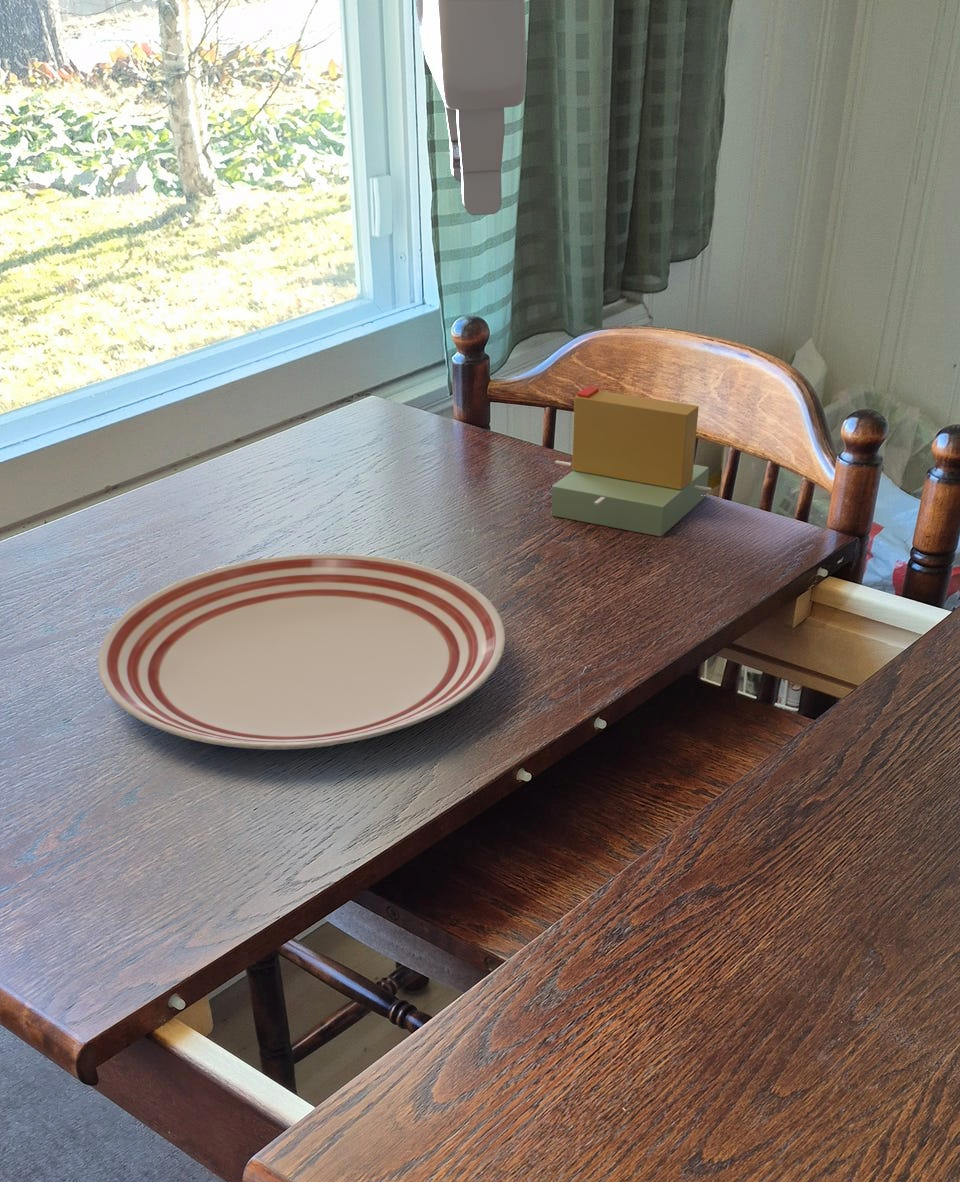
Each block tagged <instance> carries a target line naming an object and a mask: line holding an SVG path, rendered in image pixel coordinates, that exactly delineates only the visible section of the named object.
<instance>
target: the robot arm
mask: <svg viewBox="0 0 960 1182" xmlns="http://www.w3.org/2000/svg"><path fill="white" fill-rule="evenodd" d="M525 1H526V0H415V7H416V13H417V19H418V25H419V33H420V36H421V42H422V48H423V52H424V56H425V60H426V64H427V65H428V68H429V70H430V72H431V75H432V77H433V79H434V81H435V83H436V86H437V89H438V91H439V93H440V95H441V98H442V100H443V103H444V108H445V116H446V123H447V130H448V131H447V132H448V138H449V151H450V152H449V156H450V171H451V174H452V176H453V177H454V179H455V180H456V182H459V183H461V195H462V196H461V198H462V204H463V208H464V210H465V212H466V213H467V214H469V215H470V216H486V215H487V216H488V215H494V214H497V213H498V212H500V210H501V207H502V205H503V202H502V201H503V199H502V196H503V195H502V193H503V192H502V164H503V153H504V144H505V143H504V142H505V131H506V129H505V127H506V126H505V108H515V107H518V106H520V105H521V104H522V103H523V101H524V99H525V94H526V86H527V36H526V35H527V33H526V2H525Z"/></svg>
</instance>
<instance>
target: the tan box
mask: <svg viewBox="0 0 960 1182" xmlns="http://www.w3.org/2000/svg"><path fill="white" fill-rule="evenodd" d="M576 394H577V395H575V396H574V401H573V402H574V404H573V405H574V406H573V431H572V434H573V436H572V437H573V438H572V462H571V470H572V471H578V472H584V473H590V474H595V475H601V476H606V477H612V478H618V479H623V480H629V481H634V482H640V483H645V484H651V485H657V486H662V487H668V488H673V489H679V490H682V489H683V488H684V487H685V486H686V485H688V484H689V483H690V482H691V481H692V477H693V465H695V454H696V443H697V442H696V440H697V431H698V430H697V429H698V417H699V406H698V405H694V404H687V403H682V402H681V403H680V402H674V401H667V400H662V399H656V398H650V397H649V398H648V397H642V396H637V395H630V394H624V393H617V392H610V391H605V390H600V388H599V387H597V386H596V387H595V386H586V387H585V388H583V389H582V390H580V391H579V392H577V393H576Z"/></svg>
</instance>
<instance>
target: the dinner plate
mask: <svg viewBox="0 0 960 1182" xmlns="http://www.w3.org/2000/svg"><path fill="white" fill-rule="evenodd" d="M505 646H506V629H505V625H504V622H503V619H502V618H501V615H500V613H499V612H498V610H497V609H496V607H495V606H494V604H493V603H492V602H491V601H490V600H489V599H488V598H487V597H486V596H485V595H484V594H483V593H481V591H479V590H478V589H476V588H475V587H474V586H472V585H470V584H469V583H467V582H465V581H464V580H462V579H460V578H458V577H457V576H454V575H452V574H450V573H447V572H445V571H442V570H439V569H436V568H434V567H431V566H427V565H423V564H419V563H416V562H412V561H407V560H402V559H398V558H391V557H384V556H378V555H377V556H376V555H366V554H353V553H305V554H304V553H303V554H302V553H301V554H289V555H280V556H279V555H278V556H270V557H263V558H257V559H251V560H246V561H240V562H235V563H232V564H227V565H223V566H220V567H216V568H212V569H209V570H206V571H203V572H199V573H196V574H194V575H191V576H188V577H186V578H183V579H181V580H178V581H176V582H174V583H171V584H170V585H167V586H165V587H163V588H162V589H160V590H158V591H155V592H154V593H152V594H149V595H148V596H147V597H145V598H144V599H142V600H141V601H139V602H137V603H136V604H135V605H133V606H132V607H131V608H130V609H128V610H127V611H125V613H123V615H122V616H120V618H118V619H117V621H115V622H114V624H113V625H112V626H111V628H110V629H109V630H108V632H107V634H106V635H105V637H104V639H103V641H102V644H101V646H100V649H99V652H98V657H97V671H98V676H99V680H100V681H101V684H102V686H103V688H104V689H105V691H106V693H107V694H108V696H109V697H110V698H111V699H112V700H113V701H114V702H115V703H116V704H117V705H118V707H120V708H121V709H123V711H125V712H126V713H127V714H129V715H131V716H132V717H134V718H135V719H137V720H139V721H141V722H143V723H144V724H146V725H148V726H150V727H153V728H155V729H157V730H160V731H163V732H166V733H168V734H171V735H174V736H177V737H180V738H184V739H188V740H191V741H196V742H201V743H206V744H211V745H217V746H223V747H231V748H241V749H254V750H255V749H256V750H299V749H313V748H322V747H331V746H335V745H341V744H348V743H354V742H358V741H362V740H367V739H372V738H375V737H379V736H383V735H387V734H389V733H394V732H396V731H397V732H398V731H399V730H403V729H406V728H408V727H411V726H414V725H416V724H419V723H421V722H424V721H426V720H428V719H430V718H433V717H435V716H438V715H440V714H441V713H443V712H445V711H447V710H449V709H450V708H452V707H454V706H456V705H457V704H459V703H460V702H463V700H464V701H465V699H467V698H469V697H470V696H472V694H473V693H475V692H476V691H477V690H478V689H479V688H480V687H482V686H483V684H484V683H486V681H487V680H488V679H489V678H490V676H492V674H493V673H494V672H495V671H496V669H497V667H498V666H499V664H500V663H501V660H502V658H503V655H504V653H505V652H504V651H505Z"/></svg>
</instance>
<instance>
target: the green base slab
mask: <svg viewBox="0 0 960 1182" xmlns="http://www.w3.org/2000/svg"><path fill="white" fill-rule="evenodd" d="M554 464H555V465H561V466H566V467H571V466H572V462H568V461H563V460H555V461H554ZM709 472H710V467H709V466H704V465H699V464H694V465H693V477H692V481H691V482H690V483H689V484H688V485H686V486H685V487H684V488H683V489H682V490H679V489H673V488H668V487H662V486H657V485H651V484H645V483H640V482H634V481H629V480H623V479H618V478H612V477H606V476H601V475H595V474H590V473H584V472H578V471H573V470H572V471H571V472H569V473H568V474H567V475H565V476H563V477H562V478H561V479H560V480H558V481H557V482H556V483H554V484H553V485H552V487H551V516H552V517H557V518H561V519H567V520H572V521H577V522H582V523H586V524H587V523H588V524H591V525H598V526H603V527H607V528H612V529H613V528H614V529H618V530H624V531H629V532H634V533H639V534H645V535H650V536H655V537H659V538H660V537H663V536H664V535H665V534H666V533H667V532H668V531H670V529H672V528H673V527H674V526H675V525H676V524H677V523H678V522H680V521H681V520H682V519H683V518H684V517H685V516H686V515H687V514H689V512H691V510H693V509H694V508H695V507H696V506H697V505H698V504H700V503H701V502H702V501H703V500H704V499H705V498H706V497H707V496H708V495H707V494H708V492H711V491H712V489H713V488H712V487H709V486H708V483H709ZM701 495H703V496H701ZM704 495H706V496H704Z"/></svg>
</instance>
